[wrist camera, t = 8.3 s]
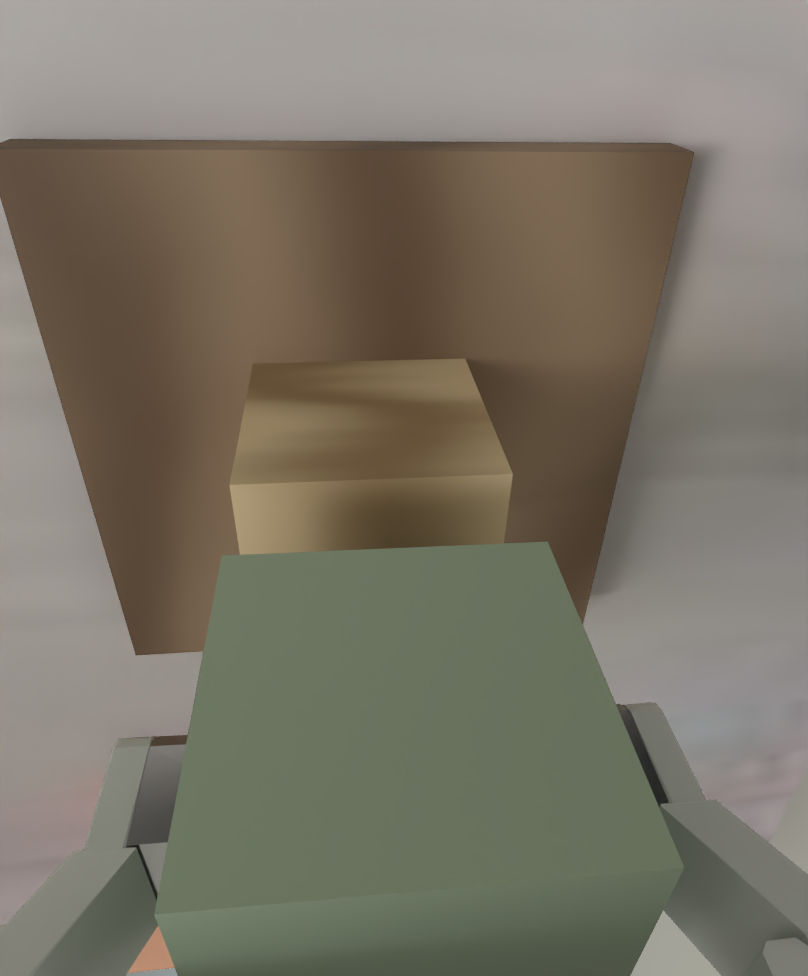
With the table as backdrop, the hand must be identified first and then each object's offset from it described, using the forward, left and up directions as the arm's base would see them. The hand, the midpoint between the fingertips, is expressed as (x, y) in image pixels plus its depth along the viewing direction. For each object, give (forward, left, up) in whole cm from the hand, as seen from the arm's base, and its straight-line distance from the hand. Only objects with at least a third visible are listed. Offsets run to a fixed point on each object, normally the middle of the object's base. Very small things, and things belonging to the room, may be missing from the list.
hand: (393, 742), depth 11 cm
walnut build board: (0, 0, -10) cm, 10 cm away
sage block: (0, 0, -2) cm, 2 cm away
